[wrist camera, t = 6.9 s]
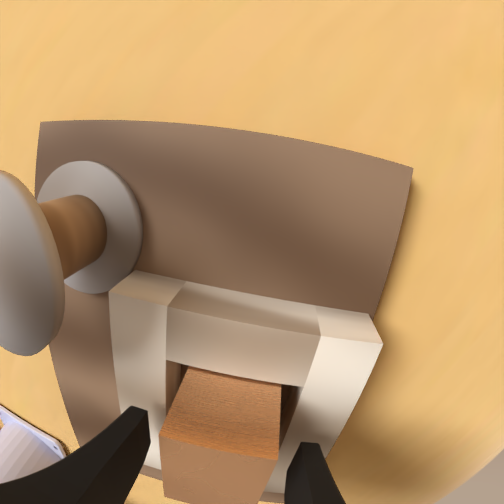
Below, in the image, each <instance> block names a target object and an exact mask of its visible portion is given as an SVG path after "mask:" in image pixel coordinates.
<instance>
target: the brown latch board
mask: <svg viewBox="0 0 504 504" xmlns="http://www.w3.org/2000/svg"><path fill="white" fill-rule="evenodd" d="M412 173H413V168H412V167H408V166H405V165H402V164H398V163H395V162H391V161H388V160H384V159H381V158H377V157H373V156H370V155H366V154H362V153H358V152H354V151H350V150H346V149H341V148H337V147H333V146H328V145H323V144H319V143H314V142H309V141H304V140H299V139H294V138H288V137H283V136H277V135H271V134H265V133H258V132H252V131H245V130H237V129H230V128H221V127H213V126H203V125H193V124H182V123H168V122H152V121H127V120H74V121H50V122H41V123H40V131H39V139H38V149H37V160H36V175H35V198H34V196H33V195H32V193H31V192H30V191H29V190H28V188H27V187H26V186H25V185H24V184H23V183H22V182H21V181H20V180H19V179H18V178H16V177H15V176H13V175H12V174H10V173H8V172H5V171H1V170H0V346H1V347H3V348H4V349H6V350H8V351H10V352H12V353H14V354H17V355H22V356H31V355H34V354H37V353H38V352H40V351H41V350H42V349H43V348H45V347H46V346H47V345H48V344H49V348H50V352H51V357H52V361H53V365H54V369H55V373H56V377H57V380H58V384H59V387H60V391H61V394H62V397H63V401H64V404H65V407H66V410H67V413H68V416H69V419H70V422H71V425H72V427H73V430H74V433H75V435H76V438H77V441H78V443H79V446H80V447H81V446H83V445H84V444H86V443H87V442H89V441H90V440H91V439H92V438H94V437H95V436H96V435H98V434H99V433H100V432H101V431H103V430H104V429H105V428H106V427H107V426H109V425H110V424H111V423H112V422H113V421H114V420H115V419H117V418H118V417H119V416H120V415H121V414H122V413H123V412H124V411H125V410H126V409H127V408H128V407H130V406H135V407H138V408H141V409H144V410H147V411H148V419H149V429H150V439H151V444H150V447H149V450H148V453H147V456H146V459H145V461H144V464H143V466H142V468H141V471H140V472H139V473H140V474H143V475H146V476H149V477H152V478H155V479H159V480H162V481H163V479H162V470H161V460H160V449H159V437H158V435H159V432H160V430H161V428H162V426H163V423H164V421H165V419H166V417H167V414H168V412H169V410H170V407H171V405H172V403H173V401H174V399H175V396H176V394H177V392H178V390H179V387H180V385H181V383H182V381H183V378H184V376H185V374H186V372H187V369H188V367H189V366H193V367H197V368H201V369H206V370H210V371H215V372H219V373H224V374H229V375H234V376H239V377H244V378H250V379H255V380H261V381H267V382H273V383H279V384H281V407H280V430H279V451H278V461H277V463H276V465H275V468H274V470H273V472H272V474H271V476H270V479H269V481H268V483H267V485H266V487H265V489H264V491H263V493H262V495H261V497H260V499H259V501H265V502H274V503H284V492H285V482H286V473H287V469H288V467H289V465H290V463H291V461H292V459H293V457H294V455H295V453H296V451H297V449H298V447H299V445H300V443H301V442H311V443H318V444H319V445H320V447H321V450H322V452H323V455H324V458H325V459H326V457H327V455H328V454H329V452H330V450H331V449H332V447H333V445H334V443H335V442H336V440H337V438H338V436H339V435H340V433H341V431H342V429H343V427H344V426H345V424H346V422H347V420H348V418H349V416H350V414H351V412H352V411H353V409H354V407H355V405H356V403H357V401H358V399H359V397H360V395H361V393H362V391H363V389H364V386H365V384H366V382H367V380H368V378H369V376H370V374H371V371H372V369H373V367H374V365H375V362H376V360H377V358H378V355H379V353H380V351H381V348H382V346H383V342H382V340H381V338H380V336H379V334H378V332H377V330H376V328H375V326H374V324H373V322H372V321H373V318H374V315H375V312H376V309H377V306H378V303H379V300H380V297H381V294H382V291H383V288H384V285H385V282H386V278H387V275H388V272H389V268H390V265H391V262H392V258H393V255H394V251H395V247H396V244H397V240H398V236H399V232H400V228H401V224H402V220H403V216H404V211H405V207H406V202H407V198H408V193H409V188H410V183H411V178H412Z"/></svg>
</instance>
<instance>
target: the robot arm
mask: <svg viewBox="0 0 504 504" xmlns="http://www.w3.org/2000/svg"><path fill="white" fill-rule="evenodd" d="M0 418H1V420H2V422H3V424H4V426H3V427H2V429H1V430H0V504H124V502H125V500H126V498H127V496H128V494H129V492H130V490H131V488H132V486H133V484H134V482H135V480H136V478H137V476H138V474H139V472H140V471H141V468H142V466H143V464H144V461H145V459H146V456H147V453H148V450H149V447H150V444H151V439H150V429H149V419H148V411H147V410H144V409H141V408H138V407H135V406H130V407H128V408H127V409H126V410H125V411H124V412H123V413H122V414H121V415H120V416H119V417H118V418H117V419H115V420H114V421H113V422H112V423H111V424H110V425H109V426H107V427H106V428H105V429H104V430H103V431H101V432H100V433H99V434H98V435H96V436H95V437H94V438H92V439H91V440H90V441H89V442H87V443H86V444H84V445H83V446H81V447H80V448H79V449H77V450H76V451H74V452H73V453H71V454H70V455H68V456H66V454H65V452H64V450H63V448H62V446H61V444H60V442H59V441H57V440H56V439H54V438H53V437H51V436H49V435H47V434H45V433H44V432H42V431H40V430H38V429H37V428H35V427H33V426H32V425H30V424H28V423H27V422H25V421H24V420H22V419H20V418H19V417H17V416H16V415H14V414H13V413H11V412H10V411H8V410H7V409H5V408H4V407H3V406H1V405H0ZM284 504H346V503H345V501H344V500H343V498H342V496H341V494H340V492H339V490H338V488H337V486H336V484H335V481H334V479H333V477H332V475H331V472H330V470H329V468H328V465H327V463H326V460H325V458H324V455H323V452H322V450H321V447H320V445H319V444H318V443H311V442H301V443H300V445H299V447H298V449H297V451H296V453H295V455H294V457H293V459H292V461H291V463H290V465H289V467H288V469H287V473H286V482H285V492H284Z"/></svg>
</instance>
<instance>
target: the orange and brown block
mask: <svg viewBox="0 0 504 504" xmlns="http://www.w3.org/2000/svg"><path fill="white" fill-rule="evenodd" d="M280 407H281V384H279V383H273V382H267V381H261V380H255V379H250V378H244V377H239V376H234V375H229V374H224V373H219V372H215V371H210V370H206V369H201V368H197V367H193V366H189V367H188V369H187V372H186V374H185V376H184V378H183V381H182V383H181V385H180V387H179V390H178V392H177V394H176V396H175V399H174V401H173V403H172V405H171V407H170V410H169V412H168V414H167V417H166V419H165V421H164V423H163V426H162V428H161V430H160V432H159V435H158V437H159V449H160V460H161V470H162V479H163V488H164V496H165V497H167V498H171V499H174V500H178V501H182V502H186V503H190V504H257V503H258V501H259V499H260V497H261V495H262V493H263V491H264V489H265V487H266V485H267V483H268V481H269V479H270V476H271V474H272V472H273V470H274V468H275V465H276V463H277V461H278V451H279V430H280Z"/></svg>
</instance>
